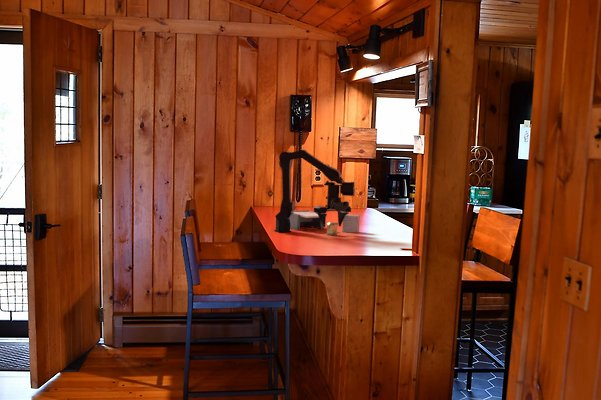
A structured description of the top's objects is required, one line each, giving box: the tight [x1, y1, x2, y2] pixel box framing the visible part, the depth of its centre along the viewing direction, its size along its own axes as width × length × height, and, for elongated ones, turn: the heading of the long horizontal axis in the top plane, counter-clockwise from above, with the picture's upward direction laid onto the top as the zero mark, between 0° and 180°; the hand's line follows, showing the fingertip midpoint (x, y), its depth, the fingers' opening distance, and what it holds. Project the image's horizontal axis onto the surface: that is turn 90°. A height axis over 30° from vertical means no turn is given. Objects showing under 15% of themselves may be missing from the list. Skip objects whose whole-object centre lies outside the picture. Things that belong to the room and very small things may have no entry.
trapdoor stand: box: [289, 209, 324, 231], centre depth 344 cm, size 16×15×8 cm
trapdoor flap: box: [294, 211, 328, 222], centre depth 340 cm, size 12×18×5 cm
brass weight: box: [326, 221, 339, 237], centre depth 323 cm, size 5×5×6 cm
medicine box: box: [341, 214, 360, 234], centre depth 335 cm, size 8×4×9 cm, turn 74°
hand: (331, 226), depth 323 cm, fingers open, 9 cm apart
